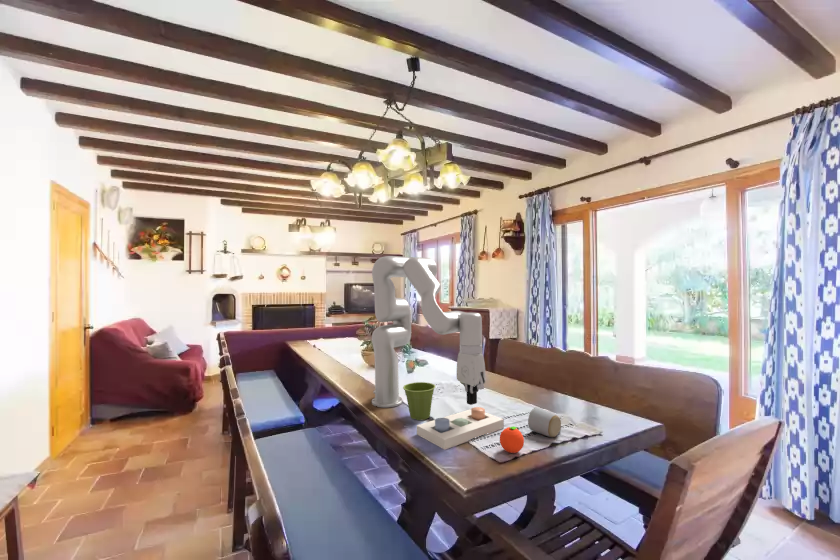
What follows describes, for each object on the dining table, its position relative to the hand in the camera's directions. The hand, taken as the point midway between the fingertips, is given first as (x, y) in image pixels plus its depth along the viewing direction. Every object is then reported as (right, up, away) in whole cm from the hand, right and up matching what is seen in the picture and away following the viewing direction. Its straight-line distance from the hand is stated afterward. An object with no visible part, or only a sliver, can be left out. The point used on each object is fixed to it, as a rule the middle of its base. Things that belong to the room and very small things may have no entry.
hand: (471, 403), depth 130 cm
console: (-4, -8, -3) cm, 10 cm away
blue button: (-10, -6, -8) cm, 14 cm away
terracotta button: (+2, -6, +2) cm, 7 cm away
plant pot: (-18, -9, +11) cm, 22 cm away
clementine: (+10, -9, -18) cm, 22 cm away
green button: (-4, -8, -3) cm, 9 cm away
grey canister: (+24, -8, -5) cm, 26 cm away
